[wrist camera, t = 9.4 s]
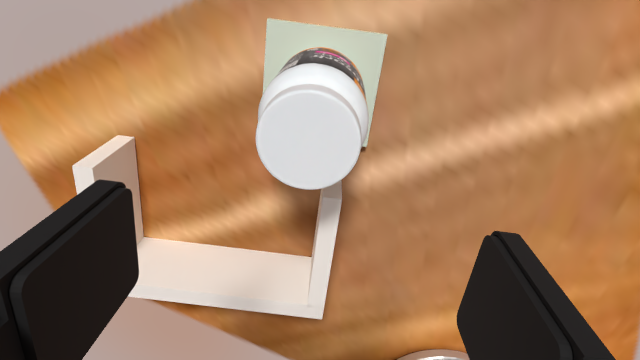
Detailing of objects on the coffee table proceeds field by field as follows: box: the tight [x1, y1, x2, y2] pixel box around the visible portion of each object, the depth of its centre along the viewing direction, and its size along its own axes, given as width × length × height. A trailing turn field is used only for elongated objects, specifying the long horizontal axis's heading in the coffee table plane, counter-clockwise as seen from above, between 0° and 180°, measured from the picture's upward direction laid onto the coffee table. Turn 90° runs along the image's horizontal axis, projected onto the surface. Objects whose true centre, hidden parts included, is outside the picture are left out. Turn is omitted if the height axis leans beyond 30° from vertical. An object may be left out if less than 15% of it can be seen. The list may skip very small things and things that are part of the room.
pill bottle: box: [256, 47, 369, 190], centre depth 21 cm, size 6×6×10 cm
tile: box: [263, 18, 387, 147], centre depth 26 cm, size 8×8×1 cm
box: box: [72, 135, 342, 319], centre depth 28 cm, size 10×16×6 cm, turn 83°
